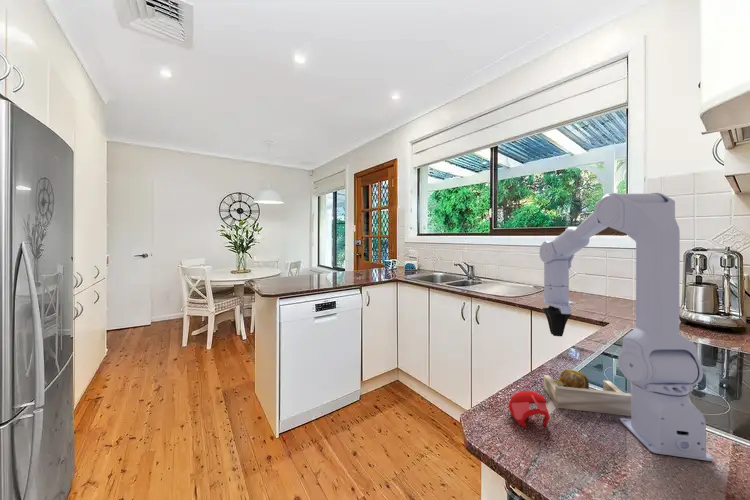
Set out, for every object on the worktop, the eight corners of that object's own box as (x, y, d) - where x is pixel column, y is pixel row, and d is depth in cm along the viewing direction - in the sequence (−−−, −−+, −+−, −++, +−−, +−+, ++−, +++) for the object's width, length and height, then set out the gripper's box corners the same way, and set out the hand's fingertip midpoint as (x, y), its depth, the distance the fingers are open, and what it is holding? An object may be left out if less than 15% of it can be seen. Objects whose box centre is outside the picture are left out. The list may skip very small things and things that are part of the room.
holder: (634, 416, 57) (634, 396, 57) (557, 407, 60) (557, 388, 60) (609, 394, 66) (609, 376, 66) (543, 387, 69) (543, 370, 69)
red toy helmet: (564, 415, 52) (547, 385, 57) (536, 408, 51) (521, 377, 56) (535, 437, 56) (521, 406, 61) (509, 430, 55) (497, 400, 60)
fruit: (545, 386, 71) (545, 371, 71) (560, 377, 76) (560, 363, 76) (586, 400, 64) (586, 383, 64) (599, 389, 69) (599, 374, 69)
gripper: (585, 289, 72) (585, 344, 72) (562, 282, 86) (562, 329, 86) (552, 288, 74) (553, 342, 74) (536, 282, 88) (536, 327, 88)
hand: (556, 335), depth 80 cm, fingers closed
